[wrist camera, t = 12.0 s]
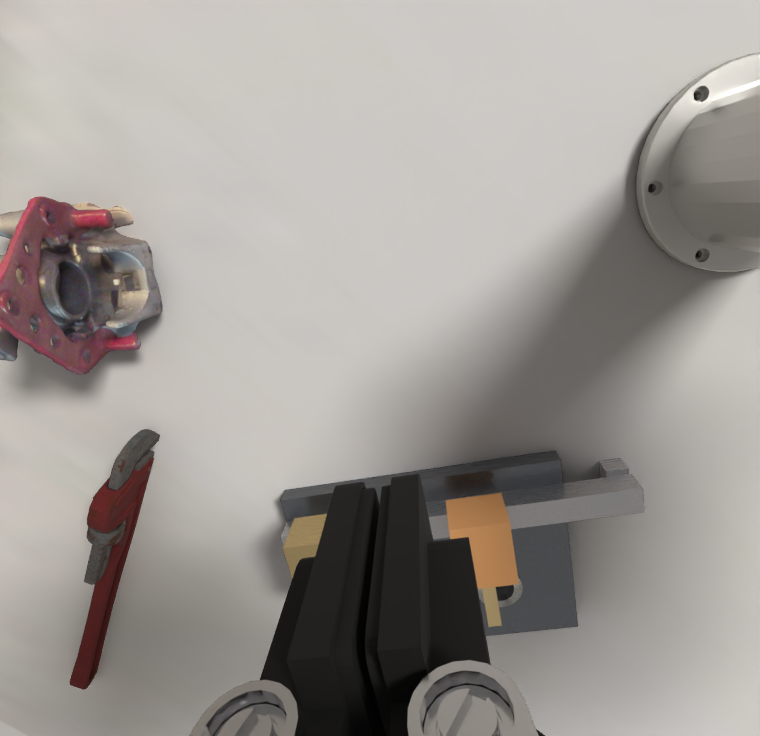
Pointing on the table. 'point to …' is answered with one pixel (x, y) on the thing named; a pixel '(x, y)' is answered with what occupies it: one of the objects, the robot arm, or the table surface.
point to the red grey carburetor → (73, 283)
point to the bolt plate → (527, 541)
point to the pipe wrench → (111, 544)
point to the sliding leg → (486, 544)
